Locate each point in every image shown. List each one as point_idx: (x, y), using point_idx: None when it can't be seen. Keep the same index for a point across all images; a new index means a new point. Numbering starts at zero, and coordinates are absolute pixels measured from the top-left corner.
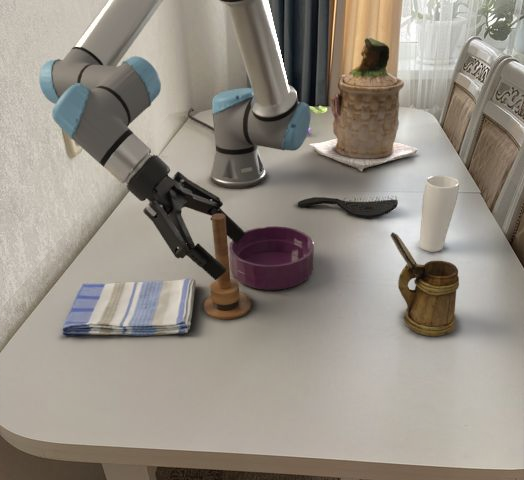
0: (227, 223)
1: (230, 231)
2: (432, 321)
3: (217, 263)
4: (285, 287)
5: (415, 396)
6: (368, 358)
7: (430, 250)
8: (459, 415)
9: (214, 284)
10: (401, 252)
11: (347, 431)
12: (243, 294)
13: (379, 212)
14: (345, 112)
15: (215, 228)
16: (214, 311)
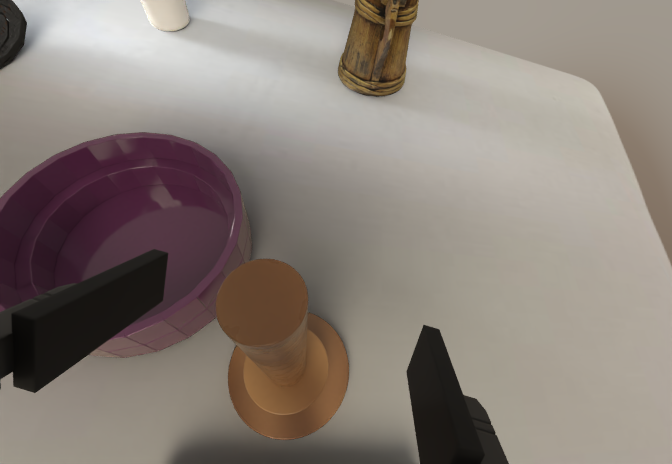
0: (106, 301)
1: (132, 302)
2: (405, 61)
3: (443, 352)
4: (250, 231)
5: (520, 124)
6: (455, 151)
7: (186, 23)
8: (540, 98)
9: (273, 399)
10: None
11: (605, 201)
12: None
13: (14, 35)
14: None
15: (300, 338)
16: (322, 405)
